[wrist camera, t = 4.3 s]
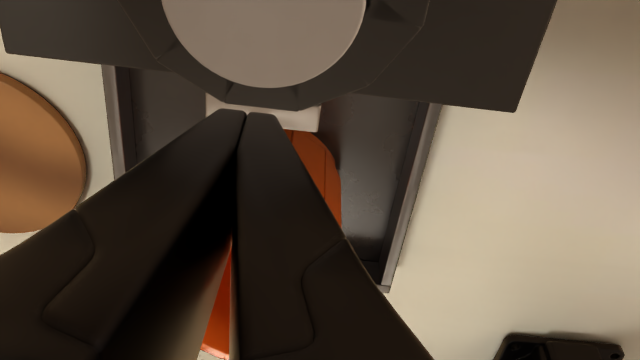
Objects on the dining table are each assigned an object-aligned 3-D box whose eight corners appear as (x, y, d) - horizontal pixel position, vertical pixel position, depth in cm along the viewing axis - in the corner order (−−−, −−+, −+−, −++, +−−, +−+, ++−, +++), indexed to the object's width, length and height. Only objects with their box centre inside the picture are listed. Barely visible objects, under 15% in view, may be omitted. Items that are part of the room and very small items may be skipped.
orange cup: (329, 237, 27) (327, 369, 21) (197, 224, 27) (161, 354, 21) (349, 127, 23) (353, 251, 18) (196, 110, 23) (152, 231, 17)
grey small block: (319, 95, 16) (317, 133, 15) (217, 84, 16) (205, 120, 15) (322, 70, 16) (321, 105, 14) (217, 57, 16) (205, 92, 14)
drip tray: (386, 264, 28) (389, 293, 27) (135, 238, 28) (123, 268, 26) (448, 30, 21) (457, 53, 20) (111, -12, 20) (94, 8, 19)
